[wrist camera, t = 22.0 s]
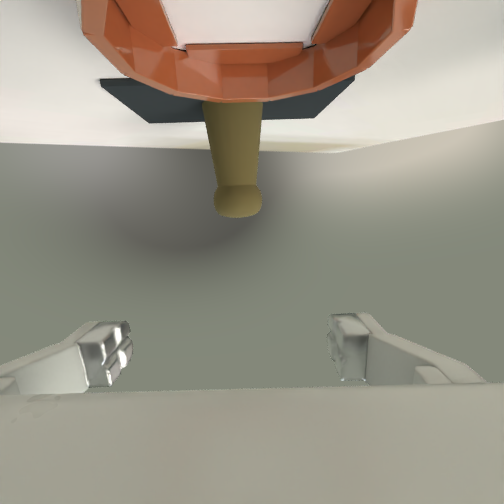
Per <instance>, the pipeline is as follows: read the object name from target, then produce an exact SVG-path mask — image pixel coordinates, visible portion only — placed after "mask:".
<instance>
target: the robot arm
mask: <svg viewBox="0 0 504 504" xmlns="http://www.w3.org/2000/svg"><path fill="white" fill-rule="evenodd" d="M328 327H329V328H330V332H329V333H328V335H327V344H328V351H329V355H330V357H331V359H332V360H333V361H335V368H336V370H337V373H338V375H339V377H340V379H341V380H365V382H366V383H368V384H369V385H370V386H337V387H297V388H259V389H221V390H183V391H142V392H106V393H104V392H103V393H83V392H84V391H86V390H87V389H88V388H92V387H109V386H112V385H113V383H114V382H115V381H116V379H117V378H118V377H119V375H120V374H121V371H120V369H121V368H123V367H125V366H126V365H127V364H128V363H129V361H130V360H131V357H132V354H133V343H132V340H131V339H130V338H129V337H128V335H129V333H130V327H129V323H128V322H126V321H95V322H87V323H85V324H84V325H83V326H81V327H80V328H79V329H78V330H76V331H75V332H74V333H72V334H71V335H70V336H69V337H67V338H66V339H65V340H63V341H62V342H61V343H59V344H54V345H51V346H49V347H46V348H44V349H41V350H38V351H36V352H33V353H31V354H28V355H26V356H23V357H21V358H18V359H16V360H13V361H11V362H8V363H5V364H3V365H0V504H504V382H492V383H488V382H486V381H485V380H484V379H483V378H482V377H481V376H479V375H478V374H477V373H476V372H475V371H473V370H472V369H471V368H470V367H468V366H467V365H466V364H464V363H462V362H459V361H457V360H454V359H452V358H450V357H447V356H445V355H442V354H440V353H438V352H435V351H433V350H430V349H428V348H426V347H423V346H421V345H418V344H416V343H413V342H411V341H408V340H406V339H404V338H401V337H399V336H396V335H394V334H388V333H387V332H386V331H385V330H384V329H383V328H382V327H381V326H380V325H379V324H378V323H377V322H376V321H375V320H374V318H373V317H372V316H371V315H370V314H369V313H348V314H331V315H329V316H328Z"/></svg>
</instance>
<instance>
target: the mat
mask: <svg viewBox="0 0 504 504" xmlns="http://www.w3.org/2000/svg"><path fill="white" fill-rule="evenodd" d="M354 80H355V75H353V76H351V77H349V78H347V79H344V80H342V81H340V82H338V83H335V84H333V85H331V86H329V87H327V88H324V89H322V90H317V91H316V92H312V93H307V94H302V95H298V96H293V97H288V98H283V99H279V100H274V101H270V100H269V101H268V102H262V103H263V109H262V120H273V119H305V118H315V117H316V116H317V115H318V114H319V113H320V112H321V111H322V110H323V109H324V108H325V107H327V106H328V105H329V104H330V103H331V102H332V101H333V100H334V99H335V98H336V97H337V96H338V95H339V94H340V93H342V92H343V91H344V90H345V89H346V88H347V87H348V86H349V85H350V84H351V83H352V82H353V81H354ZM100 83H101V87H102V88H104V89H105V90H106V91H108V92H109V93H110V94H112V95H113V96H114V97H115V98H117V99H118V100H119V101H121V102H122V103H123V104H125V105H126V106H127V107H129V108H130V109H131V110H133V111H134V112H135V113H136V114H138V115H139V116H140V117H142V118H143V119H144V120H146V121H147V122H148V123H177V122H205V119H204V114H203V109H202V103H203V102H204V101H205V100H199V99H193V98H186V97H180V96H174V95H173V94H171V95H170V94H168V93H165V92H163V91H161V90H158V89H156V88H153V87H151V86H149V85H146V84H144V83H142V82H139V81H137V80H134V79H102V80H100Z"/></svg>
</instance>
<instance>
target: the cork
mask: <svg viewBox="0 0 504 504" xmlns="http://www.w3.org/2000/svg"><path fill="white" fill-rule="evenodd" d="M202 109H203V114H204V119H205V124H206V129H207V134H208V139H209V144H210V149H211V154H212V159H213V164H214V169H215V174H216V179H217V184H218V188H217V190H216V191H215V194H214V206H215V209H216V211H217V212H218V213H219V214H220V215H222V216H226V217H234V218H236V217H237V218H239V217H247V216H250V215H254V214H256V213H257V212H259V210H260V208H261V204H262V196H261V192H260V190H259V189H258V187H257V186H256V179H257V167H258V155H259V144H260V132H261V120H262V109H263V103H262V102H237V103H222V102H220V103H218V102H211V101H204V102H203V103H202Z"/></svg>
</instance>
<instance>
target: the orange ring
mask: <svg viewBox="0 0 504 504" xmlns="http://www.w3.org/2000/svg"><path fill="white" fill-rule="evenodd" d="M417 3H418V0H330V2H329V4H328V6H327V8H326V10H325V12H324V14H323V16H322V18H321V20H320V22H319V24H318V26H317V28H316V30H315V32H314V34H313V36H312V39H311V44H317V45H315V46H314V47H310V48H307V49H304V50H302V48H303V43H257V44H199V45H186V51H187V52H185V51H181V50H177V49H173V48H172V47H170V46H178V45H177V40H176V37H175V35H174V32H173V30H172V27H171V25H170V22H169V20H168V17H167V15H166V12H165V10H164V7H163V5H162V2H161V0H76V4H77V10H78V16H79V21H80V27H81V30H82V32H83V35H84V36H85V37H86V38H87V39H88V40H89V41H90V42H91V43H92V44H93V45H94V46H95V47H96V48H97V49H98V50H99V51H100V52H101V53H102V54H103V55H104V56H105V57H106V58H107V59H108V60H109V61H110V62H111V63H112V64H113V65H114V66H115V67H116V68H117V69H118V70H119V71H120V73H122V74H124V75H125V76H127V77H130V78H132V79H134V80H137V81H139V82H142V83H144V84H146V85H149V86H151V87H153V88H156V89H158V90H161V91H163V92H165V93H168V94H170V95H171V94H173V95H174V96H180V97H186V98H193V99H199V100H205V101H211V102H218V103H220V102H222V103H237V102H268V101H269V100H270V101H274V100H279V99H283V98H288V97H293V96H298V95H302V94H307V93H312V92H316V91H317V90H322V89H324V88H327V87H329V86H331V85H333V84H335V83H338V82H340V81H342V80H344V79H347V78H349V77H351V76H353V75H355V74H358V73H360V72H362V71H364V70H366V69H367V68H370V67H371V66H372V65H373V64H374V63H375V62H376V61H377V60H378V59H379V58H380V57H382V56H383V55H384V54H385V53H386V52H387V51H388V50H389V49H390V48H391V47H392V46H393V45H394V44H396V43H397V42H398V41H399V40H400V39H401V38H402V37H403V36H404V35H405V34H406V33H407V32H409V31H410V29H411V27H412V26H413V23H414V18H415V13H416V8H417Z"/></svg>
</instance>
